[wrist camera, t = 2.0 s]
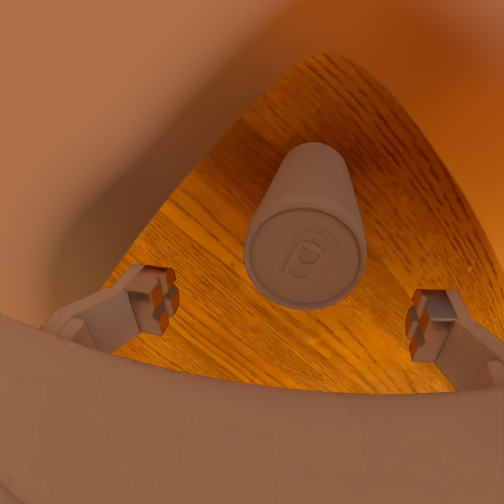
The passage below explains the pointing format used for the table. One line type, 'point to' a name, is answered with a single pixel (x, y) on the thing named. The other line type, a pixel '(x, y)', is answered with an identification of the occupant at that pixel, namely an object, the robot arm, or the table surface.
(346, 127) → the table surface
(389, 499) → the robot arm
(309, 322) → the table surface
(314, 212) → the beverage can
